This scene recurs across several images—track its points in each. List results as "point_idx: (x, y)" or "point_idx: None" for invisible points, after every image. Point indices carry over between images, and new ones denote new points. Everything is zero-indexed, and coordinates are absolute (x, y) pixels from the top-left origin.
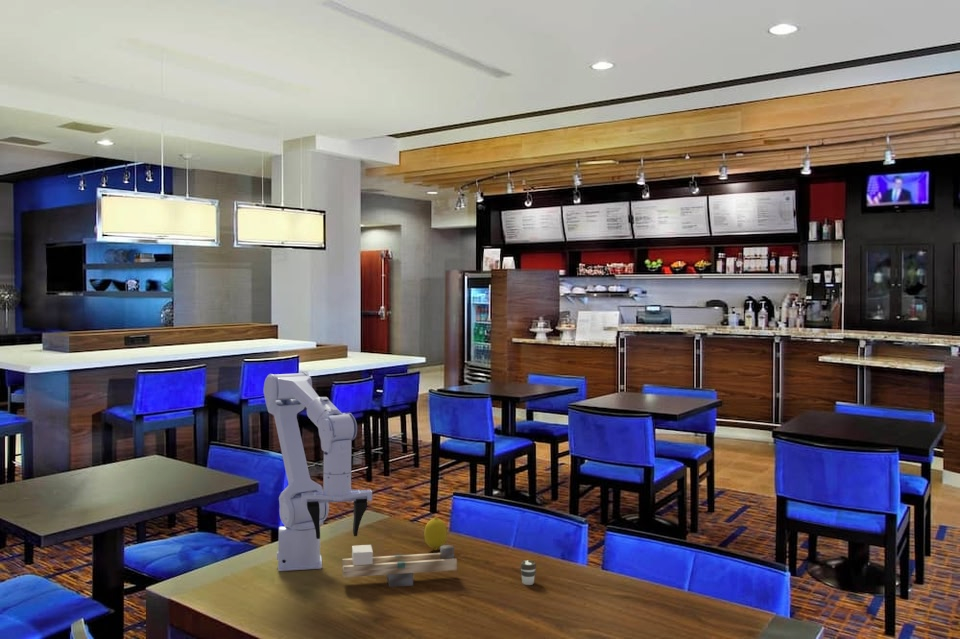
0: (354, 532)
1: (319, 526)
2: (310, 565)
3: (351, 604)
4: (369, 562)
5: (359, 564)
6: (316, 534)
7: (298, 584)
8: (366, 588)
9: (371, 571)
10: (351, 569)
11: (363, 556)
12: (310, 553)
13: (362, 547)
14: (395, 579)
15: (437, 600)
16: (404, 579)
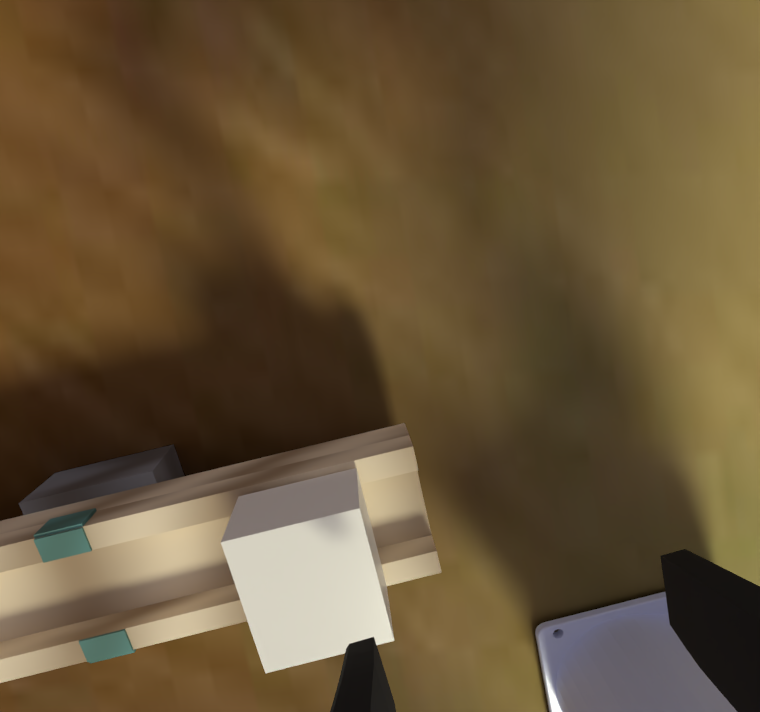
0: (370, 660)
1: (757, 620)
2: (591, 632)
3: (324, 221)
4: (255, 496)
5: (319, 479)
6: (719, 566)
7: (613, 449)
8: (286, 423)
9: (251, 469)
10: (365, 449)
11: (290, 509)
12: (623, 680)
13: (314, 617)
14: (129, 467)
15: None
16: (82, 478)
